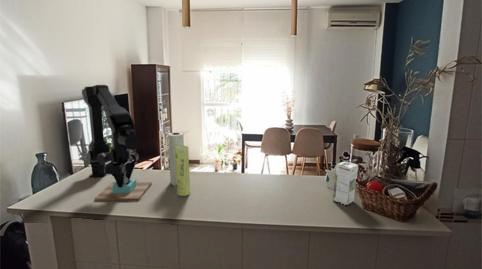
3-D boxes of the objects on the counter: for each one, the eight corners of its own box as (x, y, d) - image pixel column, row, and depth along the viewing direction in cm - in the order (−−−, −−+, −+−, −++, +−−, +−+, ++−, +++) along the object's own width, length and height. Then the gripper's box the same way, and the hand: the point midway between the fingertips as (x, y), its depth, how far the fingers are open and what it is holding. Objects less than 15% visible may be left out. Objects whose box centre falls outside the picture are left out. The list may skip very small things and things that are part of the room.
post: (123, 188, 116) (122, 176, 115) (129, 188, 116) (128, 176, 115) (120, 190, 114) (119, 178, 113) (126, 190, 114) (125, 178, 113)
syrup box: (339, 197, 112) (343, 160, 109) (354, 202, 108) (358, 164, 105) (332, 201, 108) (335, 163, 105) (347, 206, 104) (351, 167, 101)
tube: (174, 196, 111) (172, 146, 107) (176, 191, 116) (174, 143, 112) (189, 196, 112) (188, 146, 107) (191, 191, 116) (189, 143, 112)
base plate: (113, 184, 123) (113, 181, 123) (151, 184, 123) (151, 182, 123) (94, 200, 107) (94, 198, 107) (138, 201, 107) (138, 198, 107)
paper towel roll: (178, 178, 129) (176, 131, 125) (188, 182, 126) (186, 133, 121) (165, 183, 124) (162, 134, 119) (175, 187, 120) (173, 136, 116)
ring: (119, 186, 118) (119, 179, 117) (136, 186, 118) (135, 179, 117) (112, 193, 112) (112, 185, 111) (130, 193, 112) (129, 185, 111)
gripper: (110, 138, 120) (113, 175, 123) (87, 151, 102) (91, 193, 105) (138, 139, 120) (140, 175, 123) (119, 151, 102) (122, 193, 105)
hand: (124, 183), depth 114 cm, fingers open, 7 cm apart
